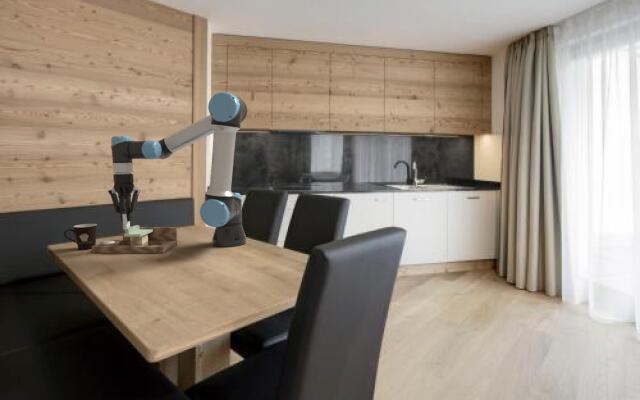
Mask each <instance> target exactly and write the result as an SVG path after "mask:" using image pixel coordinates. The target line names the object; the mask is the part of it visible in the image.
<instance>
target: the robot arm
mask: <svg viewBox="0 0 640 400" xmlns="http://www.w3.org/2000/svg"><path fill="white" fill-rule="evenodd" d="M207 106H208V107H207V108H208V113H209V115H207V116H205V117H203V118H200V120H198V121H195V122H193V123H191V124H189V125H188V126H185V127H184V128H181V129H179V130H178V131H175V132H174V133H172V134H170V135H168V136H166V137H163V138H162V139H160V140H158V141H157V140H132V138H131V136H129V135H128V136H127V135H114V136H111V138H110V140H111V142H110V144H111V146H110V148H111V157H112V158H111V159H112V173H113V175H112V176H113V177H112V178H113V183H114V184H113V188H112V189H108V191H107V192H108V194H109V196H110V197H111V198H110V199H111V201H112V204H113V207H114V210H115V212H116V213H118V214H120V221H121V222H122V227H123V229H126V228H129V227H131V222H132V213H134V212H136V211H137V205H138V199H139V195H140V193H141V190H140V189H138V188H136V187H135V183H134V182H135V181H134V180H135V179H134V174H133V173H134V168H133V167H134V166H133V160H165V159H168V158H170V157H171V156H172V155H173V154H175V153H176V152H178V151H180V150H182V149H184V148H186V147H188V146H191V145H193V144H195V143H196V142H198V141H201V140H203V139H205V138H207V137H209V136H211V135H213V140H212V142H213V143H212V155H211V166H210V175H209V177H210V179H209V189H208V190H206V191H204V201H203V203H202V204H201V205H200V208H199V215H200V218H201V220H202V222H203V223H204V224H205V225H207V226H208V227H211V228H214V232H213V235H212V239H211V242H212V243H211V244H212V246H215V247H223V248H224V247H226V248H227V247H229V248H230V247H238V246H242V245H245V244H246V243H247V235H246V233H245V230H244V228H243V212H242V211H243V209H242V207H243V205H242V202H243V201H242V200H243V199H242V195H241V194H240V193H239V192H232V181H233V180H232V179H233V170H234V169H233V168H234V158H235V147H236V138H237V132H238V131H240V130H241V123H243V122H244V121H245V120H246V118H247V115H248V107H247V104H246V102H245V101H244V100H243V99H242V98H241V97H239V96H236V95H235V94H234V93H231V92H227V91H221V92H217V93H215V94H214V95H213V96H211V98H210V100H209V101H208V105H207Z"/></svg>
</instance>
